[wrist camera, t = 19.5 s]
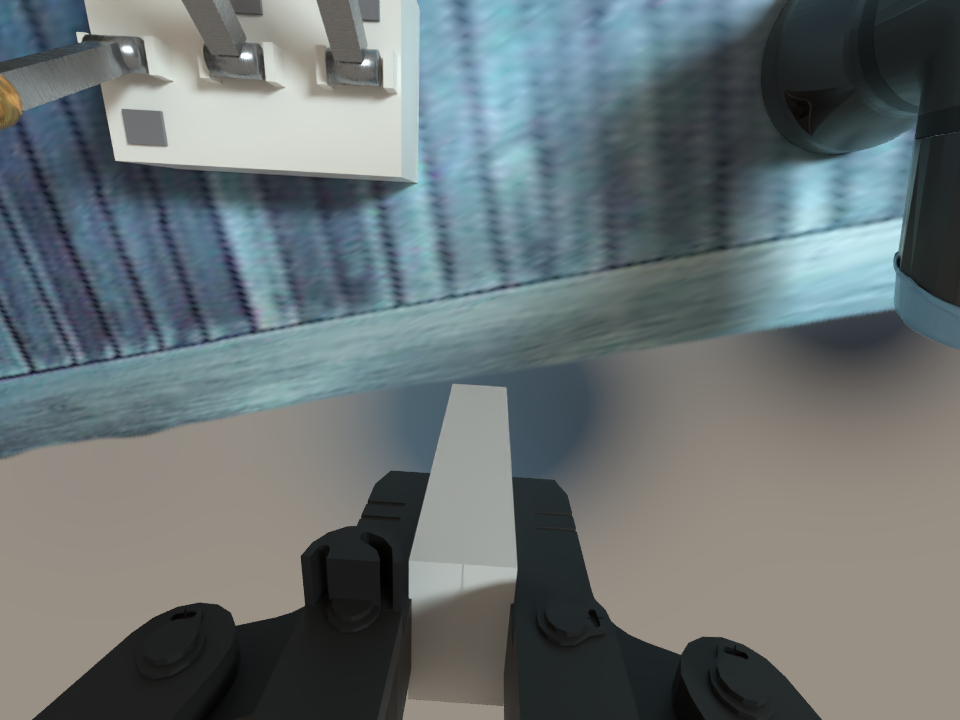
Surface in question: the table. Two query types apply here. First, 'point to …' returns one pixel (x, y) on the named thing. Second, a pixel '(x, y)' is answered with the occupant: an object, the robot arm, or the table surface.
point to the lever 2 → (348, 45)
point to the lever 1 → (66, 72)
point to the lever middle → (225, 41)
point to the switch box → (264, 94)
